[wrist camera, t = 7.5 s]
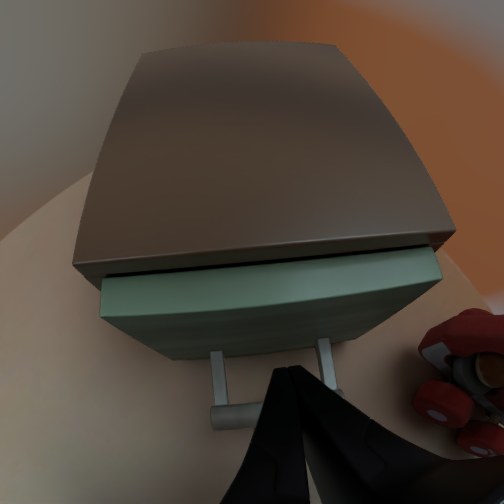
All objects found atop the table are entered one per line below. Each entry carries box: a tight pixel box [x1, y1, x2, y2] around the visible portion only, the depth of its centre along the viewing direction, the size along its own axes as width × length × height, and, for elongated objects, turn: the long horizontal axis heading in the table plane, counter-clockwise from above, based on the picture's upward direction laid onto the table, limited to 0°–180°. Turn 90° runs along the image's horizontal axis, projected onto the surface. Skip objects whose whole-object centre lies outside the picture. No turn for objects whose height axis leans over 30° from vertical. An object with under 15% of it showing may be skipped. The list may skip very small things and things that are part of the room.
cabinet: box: [72, 41, 456, 292], centre depth 15 cm, size 14×12×11 cm
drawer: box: [99, 247, 443, 431], centre depth 13 cm, size 16×10×9 cm, turn 6°
